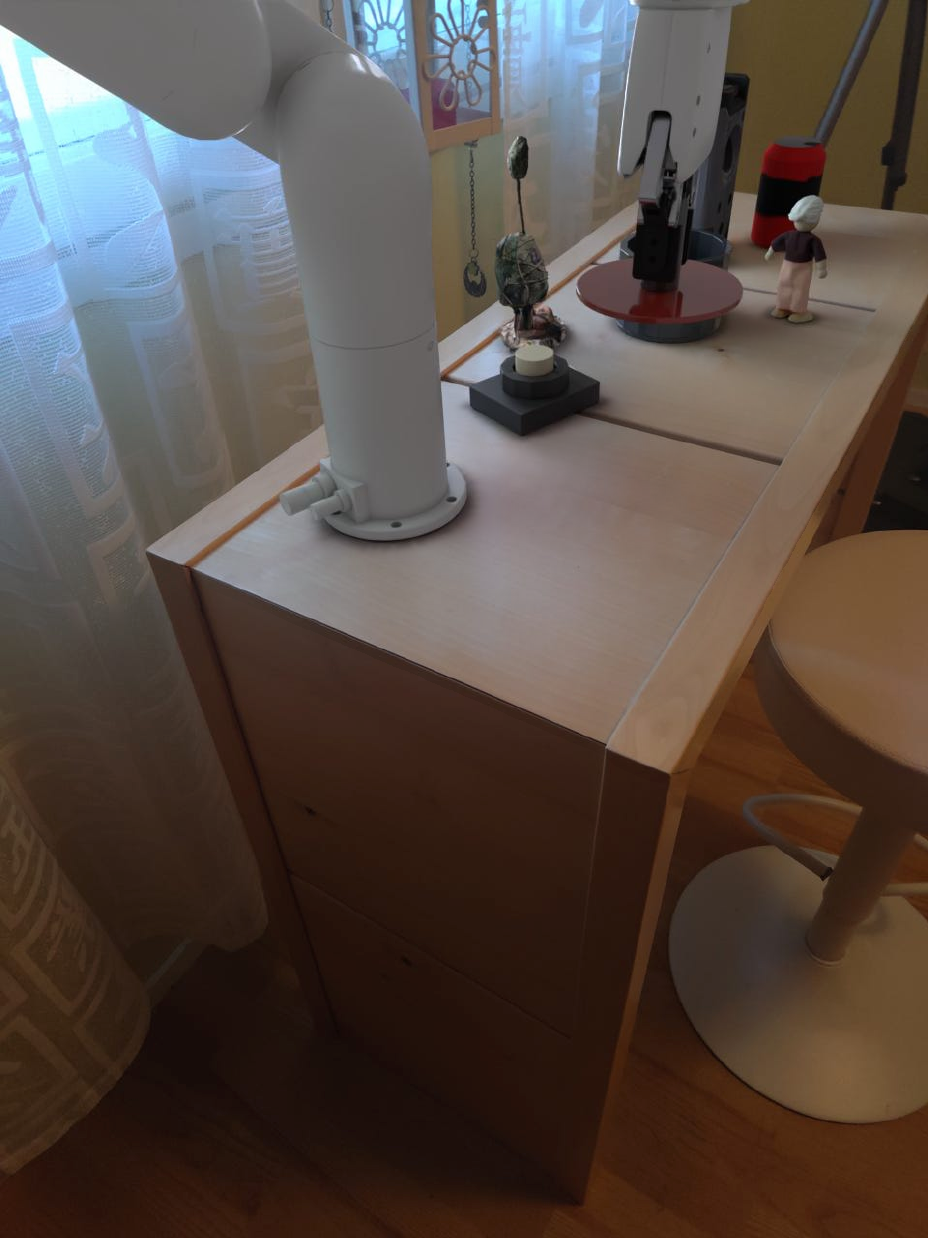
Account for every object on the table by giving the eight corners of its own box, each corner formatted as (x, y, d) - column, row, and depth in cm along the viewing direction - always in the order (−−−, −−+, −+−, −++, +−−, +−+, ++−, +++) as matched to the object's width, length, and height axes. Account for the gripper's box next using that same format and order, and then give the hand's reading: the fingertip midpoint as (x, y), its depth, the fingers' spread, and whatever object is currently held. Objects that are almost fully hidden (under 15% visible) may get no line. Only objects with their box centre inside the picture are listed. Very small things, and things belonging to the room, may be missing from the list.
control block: (521, 436, 83) (520, 397, 80) (469, 406, 88) (467, 368, 85) (599, 402, 87) (601, 364, 85) (546, 375, 92) (546, 338, 90)
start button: (532, 381, 83) (532, 364, 82) (508, 369, 85) (507, 352, 84) (561, 370, 85) (561, 352, 84) (536, 358, 87) (536, 341, 86)
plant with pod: (472, 354, 97) (463, 153, 84) (520, 315, 104) (519, 125, 91) (539, 368, 93) (540, 161, 80) (583, 327, 101) (592, 131, 88)
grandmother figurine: (827, 316, 100) (853, 196, 91) (812, 328, 98) (838, 206, 89) (763, 301, 104) (783, 185, 95) (747, 312, 101) (767, 194, 93)
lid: (659, 347, 62) (671, 235, 57) (542, 296, 70) (545, 193, 65) (775, 301, 68) (796, 195, 63) (655, 259, 76) (665, 161, 71)
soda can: (791, 254, 115) (811, 152, 107) (739, 242, 119) (754, 144, 111) (819, 238, 119) (840, 138, 111) (768, 227, 123) (784, 131, 115)
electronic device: (704, 270, 112) (728, 89, 99) (660, 263, 114) (677, 86, 101) (729, 247, 118) (754, 73, 105) (686, 241, 120) (706, 70, 107)
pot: (669, 352, 95) (678, 272, 89) (594, 320, 102) (598, 244, 96) (741, 321, 100) (753, 244, 94) (664, 293, 107) (672, 219, 101)
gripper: (664, -40, 62) (639, 232, 74) (595, -11, 51) (579, 304, 63) (774, -41, 60) (730, 241, 72) (727, -10, 49) (684, 318, 61)
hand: (660, 268), depth 67 cm, fingers closed on lid, 3 cm apart
